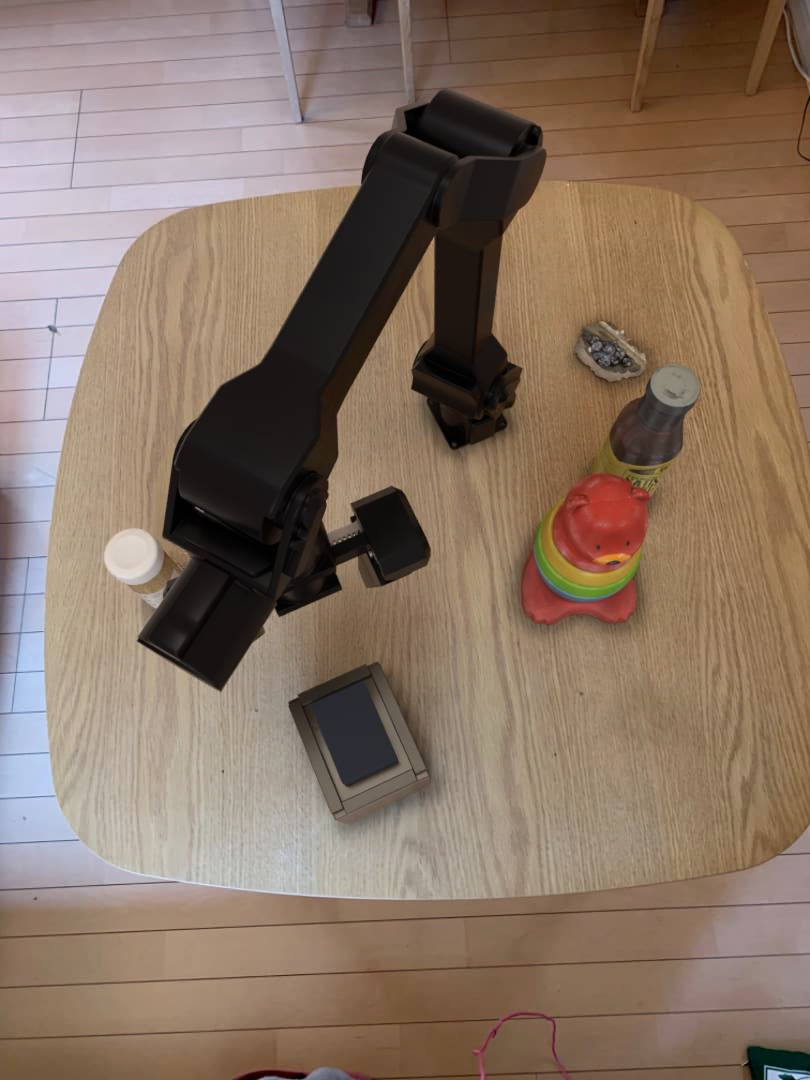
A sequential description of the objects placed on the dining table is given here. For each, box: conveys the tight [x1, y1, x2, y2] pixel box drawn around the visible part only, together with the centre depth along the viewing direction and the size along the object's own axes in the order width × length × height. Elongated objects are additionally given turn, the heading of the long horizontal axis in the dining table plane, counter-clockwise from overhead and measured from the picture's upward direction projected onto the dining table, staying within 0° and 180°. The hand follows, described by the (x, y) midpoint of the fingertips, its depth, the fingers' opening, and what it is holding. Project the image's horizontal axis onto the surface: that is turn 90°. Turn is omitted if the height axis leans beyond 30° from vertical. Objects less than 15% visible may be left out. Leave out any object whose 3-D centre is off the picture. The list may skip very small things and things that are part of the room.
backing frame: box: [287, 661, 431, 825], centre depth 71 cm, size 10×8×11 cm
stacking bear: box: [520, 473, 651, 626], centre depth 73 cm, size 11×10×18 cm
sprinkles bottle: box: [103, 527, 184, 610], centre depth 76 cm, size 5×5×13 cm
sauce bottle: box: [588, 363, 702, 498], centre depth 75 cm, size 7×6×20 cm
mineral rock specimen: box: [571, 320, 648, 383], centre depth 89 cm, size 7×8×2 cm
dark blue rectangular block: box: [310, 681, 399, 787], centre depth 66 cm, size 6×4×3 cm
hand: (313, 604), depth 69 cm, fingers open, 9 cm apart
